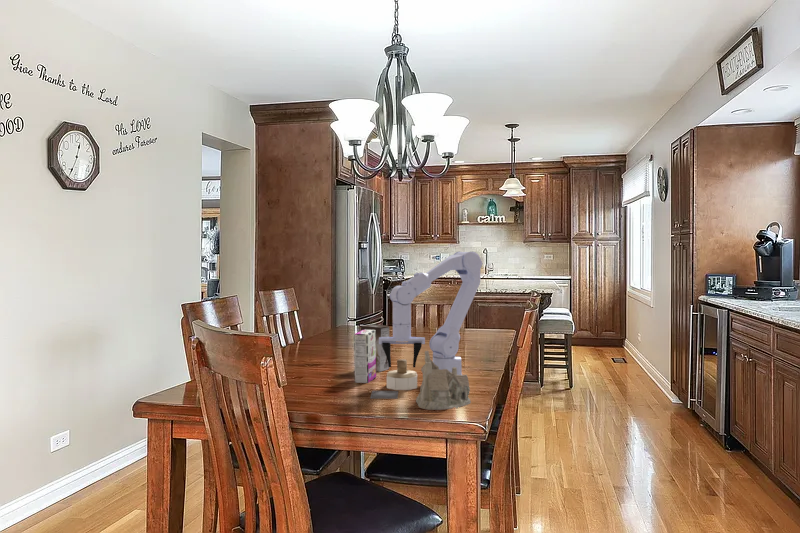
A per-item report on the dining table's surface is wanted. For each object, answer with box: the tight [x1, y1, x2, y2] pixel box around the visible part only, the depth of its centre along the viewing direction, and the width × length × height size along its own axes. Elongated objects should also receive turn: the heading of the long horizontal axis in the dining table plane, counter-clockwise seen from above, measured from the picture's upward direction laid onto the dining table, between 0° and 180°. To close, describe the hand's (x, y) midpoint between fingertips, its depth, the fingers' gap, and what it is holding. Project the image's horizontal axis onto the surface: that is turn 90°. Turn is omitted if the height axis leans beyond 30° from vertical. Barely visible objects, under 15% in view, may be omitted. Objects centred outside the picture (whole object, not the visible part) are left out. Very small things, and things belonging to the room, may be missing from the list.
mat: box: [369, 390, 399, 400], centre depth 178 cm, size 8×10×1 cm
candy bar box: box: [353, 330, 377, 384], centre depth 200 cm, size 11×5×16 cm, turn 168°
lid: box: [386, 358, 418, 378], centre depth 189 cm, size 9×9×5 cm
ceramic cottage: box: [415, 350, 472, 411], centre depth 169 cm, size 16×16×15 cm
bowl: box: [386, 375, 418, 391], centre depth 189 cm, size 10×10×4 cm
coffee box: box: [360, 323, 390, 373], centre depth 220 cm, size 9×6×16 cm
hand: (402, 366), depth 189 cm, fingers open, 7 cm apart
